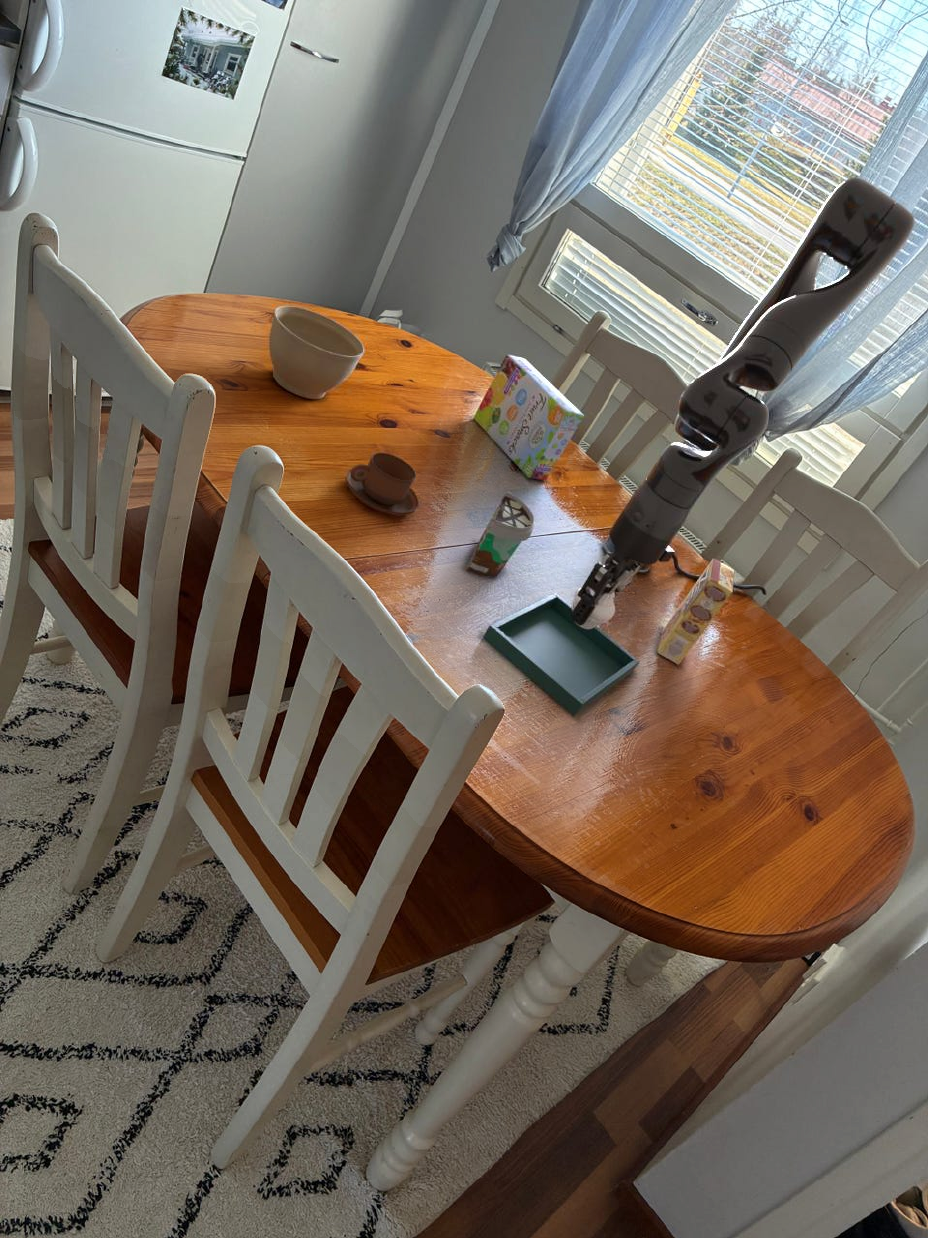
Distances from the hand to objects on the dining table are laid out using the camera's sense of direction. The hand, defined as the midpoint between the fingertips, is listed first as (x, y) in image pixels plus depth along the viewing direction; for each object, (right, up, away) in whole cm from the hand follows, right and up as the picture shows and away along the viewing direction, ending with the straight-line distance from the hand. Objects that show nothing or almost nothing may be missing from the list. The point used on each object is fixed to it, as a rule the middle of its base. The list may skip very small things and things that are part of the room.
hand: (587, 614), depth 131 cm
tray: (-3, -6, +4) cm, 8 cm away
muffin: (-1, -1, +1) cm, 2 cm away
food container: (-13, +7, +15) cm, 21 cm away
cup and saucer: (-31, +18, +16) cm, 39 cm away
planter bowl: (-46, +40, +34) cm, 70 cm away
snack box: (-8, +33, +55) cm, 65 cm away
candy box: (+16, -5, +21) cm, 27 cm away
